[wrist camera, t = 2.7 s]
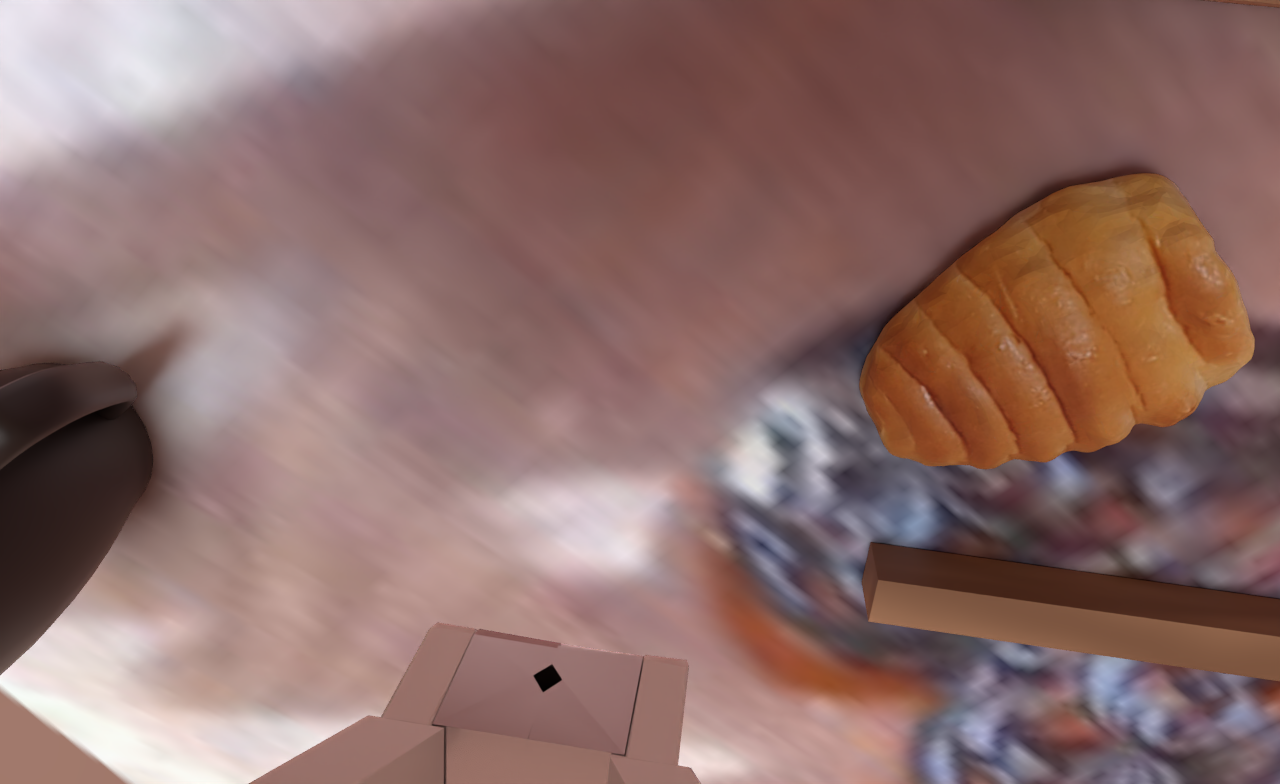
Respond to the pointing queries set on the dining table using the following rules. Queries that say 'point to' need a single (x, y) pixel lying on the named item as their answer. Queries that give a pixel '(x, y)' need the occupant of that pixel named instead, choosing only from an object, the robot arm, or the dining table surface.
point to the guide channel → (1075, 605)
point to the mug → (62, 487)
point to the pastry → (1061, 331)
